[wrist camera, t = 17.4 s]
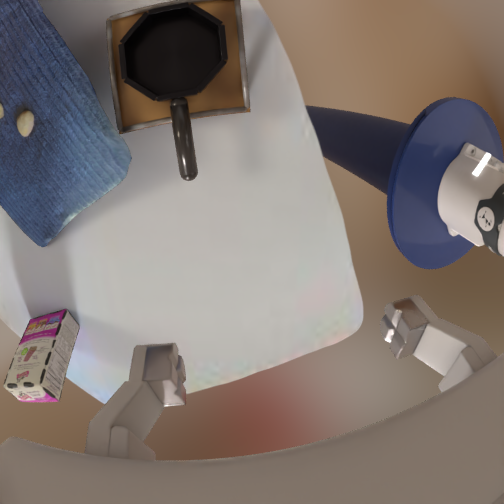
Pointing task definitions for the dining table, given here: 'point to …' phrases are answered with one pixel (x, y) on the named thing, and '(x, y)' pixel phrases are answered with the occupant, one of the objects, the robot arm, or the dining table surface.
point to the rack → (202, 105)
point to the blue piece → (50, 128)
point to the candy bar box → (42, 358)
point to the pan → (174, 65)
